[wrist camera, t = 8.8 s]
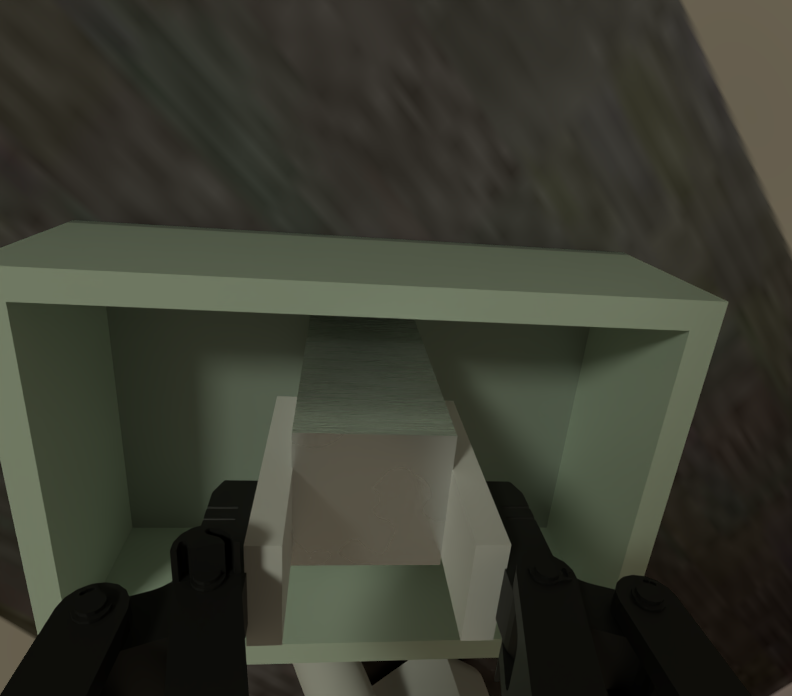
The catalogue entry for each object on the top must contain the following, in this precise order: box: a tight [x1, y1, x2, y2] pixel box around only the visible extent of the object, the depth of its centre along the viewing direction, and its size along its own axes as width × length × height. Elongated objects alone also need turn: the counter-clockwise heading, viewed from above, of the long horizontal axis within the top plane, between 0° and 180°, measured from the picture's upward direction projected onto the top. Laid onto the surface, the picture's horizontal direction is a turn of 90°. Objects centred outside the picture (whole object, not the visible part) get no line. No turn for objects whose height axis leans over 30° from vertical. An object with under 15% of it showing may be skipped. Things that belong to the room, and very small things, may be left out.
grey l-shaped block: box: [291, 315, 458, 566], centre depth 20 cm, size 10×4×10 cm, turn 175°
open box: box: [0, 220, 728, 665], centre depth 22 cm, size 15×22×7 cm
